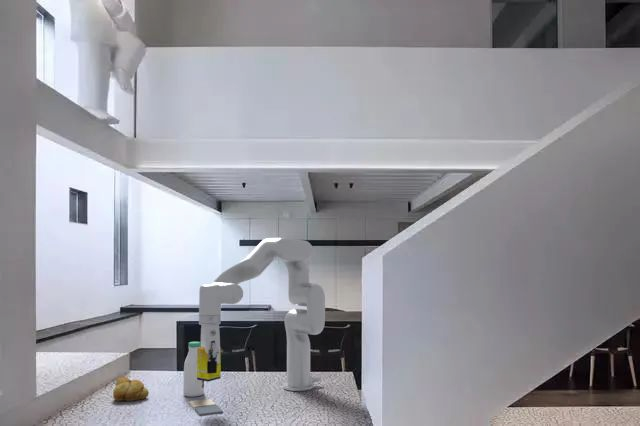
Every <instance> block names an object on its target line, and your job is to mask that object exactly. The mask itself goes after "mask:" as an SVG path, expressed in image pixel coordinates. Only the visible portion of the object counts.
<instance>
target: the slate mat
mask: <svg viewBox="0 0 640 426" xmlns="http://www.w3.org/2000/svg"><path fill="white" fill-rule="evenodd" d="M194 411H195V412H196V413H197V414H198V415H199V417H202V416H208V415H217V414H223V413H224V410H223V409H221V408H220V407H219V406H218V405H217V404H216V405H214V406H206V407H197V408H194Z"/></svg>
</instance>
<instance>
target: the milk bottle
mask: <svg viewBox="0 0 640 426" xmlns="http://www.w3.org/2000/svg"><path fill="white" fill-rule="evenodd" d="M187 345H188V352H187V356H185V357H186V358H185V359H184V360H185V361H184V365H183V396H185V397H192V398H193V397H199V396H200V397H201V396H202V395H204V394H205V393H204V391H205V381H202V380H197V348H201V341H190V342H188V344H187Z"/></svg>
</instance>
